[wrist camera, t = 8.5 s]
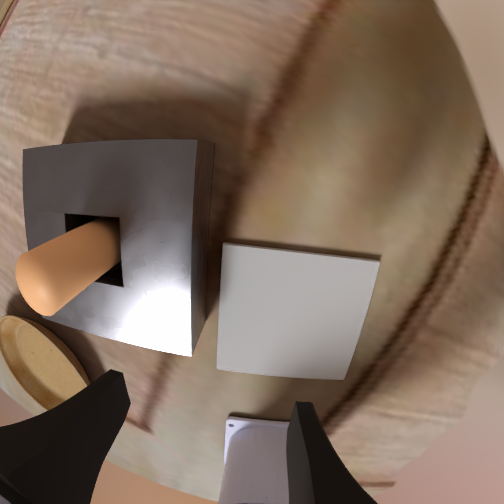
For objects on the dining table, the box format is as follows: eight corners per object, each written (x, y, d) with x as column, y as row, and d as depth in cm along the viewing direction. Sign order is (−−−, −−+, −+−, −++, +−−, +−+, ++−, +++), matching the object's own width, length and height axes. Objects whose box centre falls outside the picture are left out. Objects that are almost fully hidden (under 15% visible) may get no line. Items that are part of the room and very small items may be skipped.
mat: (342, 376, 21) (343, 379, 20) (217, 365, 21) (216, 368, 21) (378, 260, 18) (380, 262, 17) (224, 242, 18) (222, 244, 18)
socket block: (205, 321, 20) (191, 356, 16) (70, 294, 21) (42, 317, 17) (214, 143, 16) (197, 139, 12) (59, 146, 17) (23, 149, 13)
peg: (144, 253, 19) (66, 321, 10) (108, 251, 19) (24, 309, 10) (142, 209, 18) (51, 255, 9) (104, 209, 18) (10, 250, 9)
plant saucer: (31, 387, 27) (21, 398, 25) (-5, 292, 22) (-19, 301, 20) (119, 424, 26) (111, 440, 24) (88, 322, 22) (73, 338, 19)
